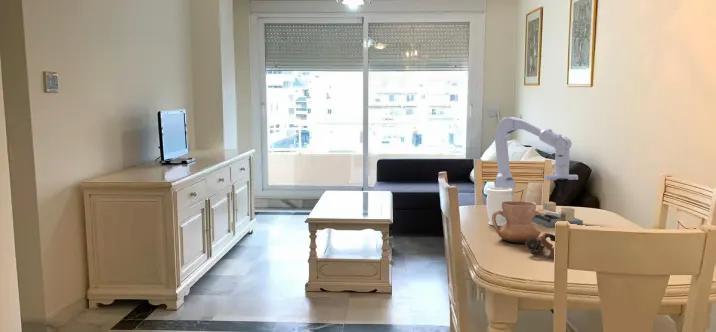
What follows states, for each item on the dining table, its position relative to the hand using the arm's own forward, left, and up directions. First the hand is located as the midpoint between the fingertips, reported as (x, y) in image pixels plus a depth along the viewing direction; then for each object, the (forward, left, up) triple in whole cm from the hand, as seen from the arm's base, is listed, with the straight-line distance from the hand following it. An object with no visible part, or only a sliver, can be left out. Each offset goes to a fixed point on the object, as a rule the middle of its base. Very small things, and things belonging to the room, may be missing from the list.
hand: (560, 196), depth 251 cm
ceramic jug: (-37, -33, -10) cm, 51 cm away
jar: (-31, -5, -10) cm, 33 cm away
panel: (-6, -5, -10) cm, 13 cm away
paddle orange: (-7, -2, -8) cm, 11 cm away
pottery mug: (-38, -54, -10) cm, 67 cm away
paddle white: (-7, -5, -8) cm, 12 cm away
